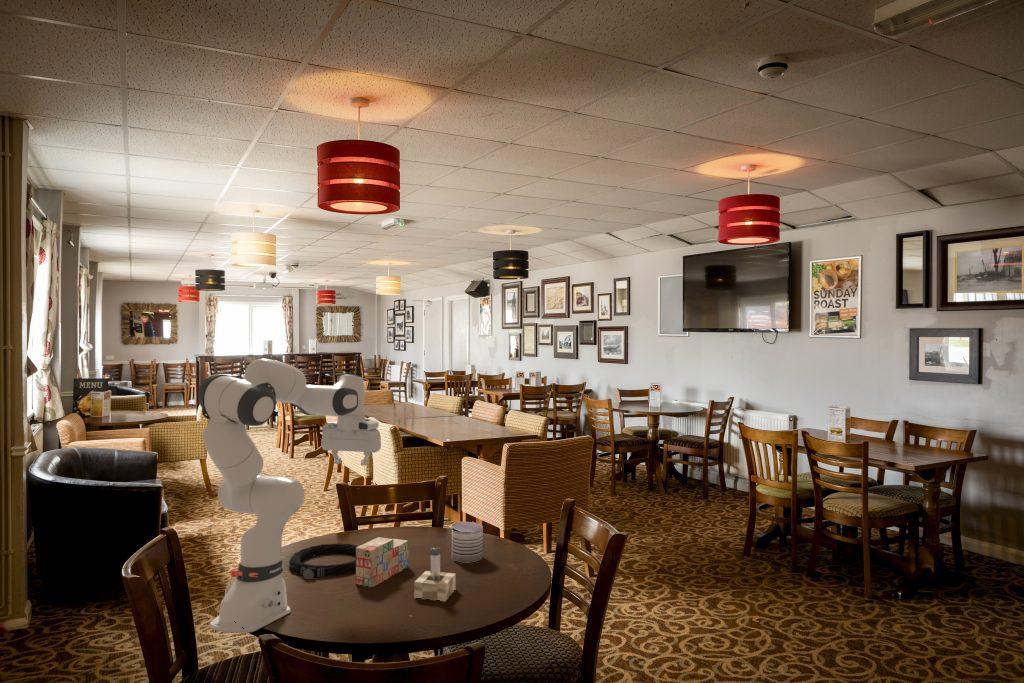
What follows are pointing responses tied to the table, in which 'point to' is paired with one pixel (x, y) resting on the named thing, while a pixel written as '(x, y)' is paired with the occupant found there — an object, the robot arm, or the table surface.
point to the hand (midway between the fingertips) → (350, 464)
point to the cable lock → (323, 570)
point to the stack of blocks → (380, 560)
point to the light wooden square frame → (435, 586)
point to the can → (467, 542)
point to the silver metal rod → (435, 564)
